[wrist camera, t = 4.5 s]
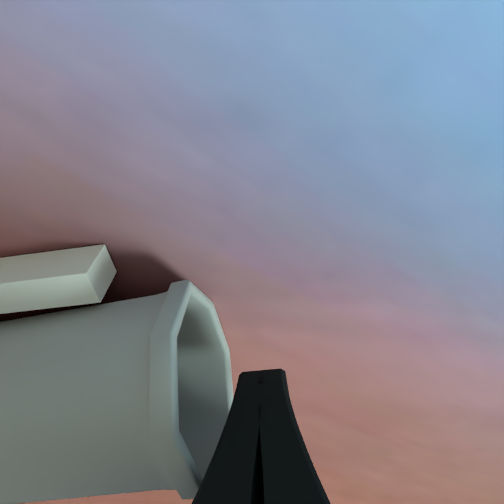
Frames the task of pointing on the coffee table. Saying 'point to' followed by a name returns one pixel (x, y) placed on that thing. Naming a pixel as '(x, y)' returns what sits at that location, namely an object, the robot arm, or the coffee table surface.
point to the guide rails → (55, 279)
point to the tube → (113, 397)
